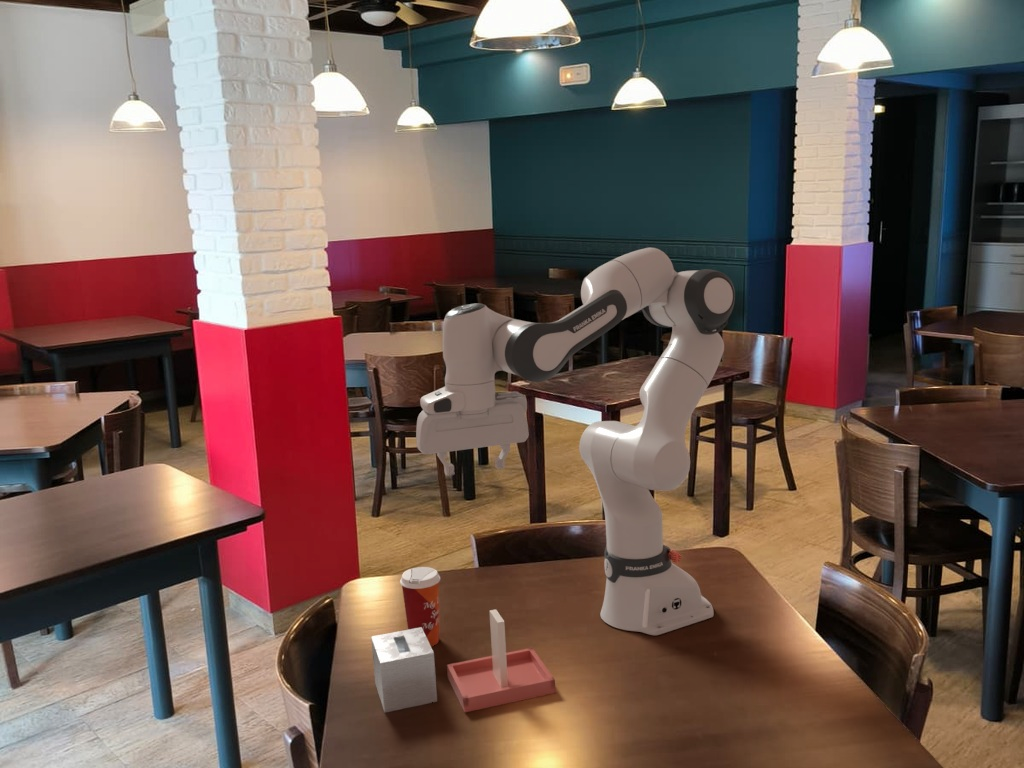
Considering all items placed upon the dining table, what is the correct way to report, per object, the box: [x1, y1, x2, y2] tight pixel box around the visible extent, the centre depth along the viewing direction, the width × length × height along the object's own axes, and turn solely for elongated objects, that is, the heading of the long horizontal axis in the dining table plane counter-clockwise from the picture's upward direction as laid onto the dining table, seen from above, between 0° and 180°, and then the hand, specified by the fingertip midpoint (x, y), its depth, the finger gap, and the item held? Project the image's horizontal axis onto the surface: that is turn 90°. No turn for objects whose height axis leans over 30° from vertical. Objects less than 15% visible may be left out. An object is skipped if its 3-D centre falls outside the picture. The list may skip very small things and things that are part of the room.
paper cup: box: [399, 566, 441, 648], centre depth 171 cm, size 8×8×14 cm
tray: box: [446, 647, 556, 713], centre depth 155 cm, size 16×12×2 cm
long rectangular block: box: [489, 608, 508, 688], centre depth 154 cm, size 1×5×12 cm, turn 17°
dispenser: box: [370, 627, 438, 713], centre depth 153 cm, size 9×10×9 cm
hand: (475, 471), depth 161 cm, fingers open, 8 cm apart
